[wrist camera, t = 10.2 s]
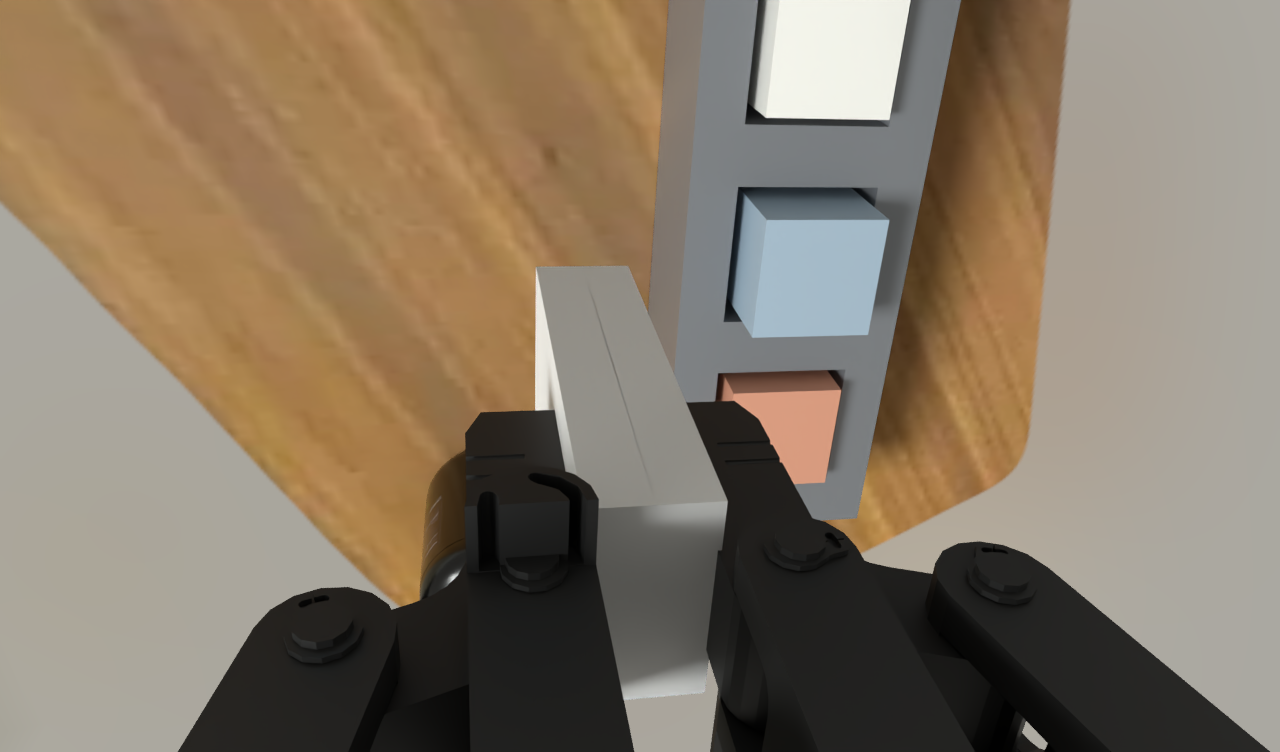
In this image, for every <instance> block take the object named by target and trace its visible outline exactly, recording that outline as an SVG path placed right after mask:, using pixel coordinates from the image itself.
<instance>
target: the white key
mask: <svg viewBox="0 0 1280 752" xmlns="http://www.w3.org/2000/svg"><path fill="white" fill-rule="evenodd" d="M910 1H911V0H758V6H757V15H756V25H755V34H754V43H753V53H752V62H751V71H750V81H749V90H748V99H747V103H749V104H750V105H751V106H752V107H753V108H755V109H756V110H757V111H758V112H759V113H761V114H762V115H763V116H764V117H765V118H804V119H859V120H889V119H890V114H891V108H892V103H893V97H894V91H895V86H896V80H897V74H898V69H899V63H900V58H901V52H902V46H903V41H904V35H905V29H906V24H907V18H908V13H909V7H910Z"/></svg>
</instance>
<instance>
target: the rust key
mask: <svg viewBox="0 0 1280 752" xmlns="http://www.w3.org/2000/svg"><path fill="white" fill-rule="evenodd" d="M840 395H841V389H840V387H839V386H838V385H837V383H836V382H835V380H834V379H833V378H832V376H831V375H830V374H829V372H828V371H827V370H809V371H776V372H743V373H718V379H717V388H716V397H715V401H735V402H737V403H738V404H739V405H741V406H742V407H743V408H745V409H746V410H747V411H749V412H750V413H751V414H753V415H754V416H755V417H757V418H758V419H759V420H760V422H761V424H762V426H763V428H764V430H765V432H766V433H767V435H768V437H769V439H770V444H771V445H773V446H774V448H775V450H776V452H777V454H778V456H779V457H780V462H782V463H783V465H784V467H785V468H786V470H787V472H788V474H789V476H790V478H791V480H792V481H793V483H794V484H805V483H825V479H826V474H827V468H828V462H829V457H830V451H831V446H832V440H833V434H834V429H835V423H836V418H837V412H838V406H839V401H840Z"/></svg>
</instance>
